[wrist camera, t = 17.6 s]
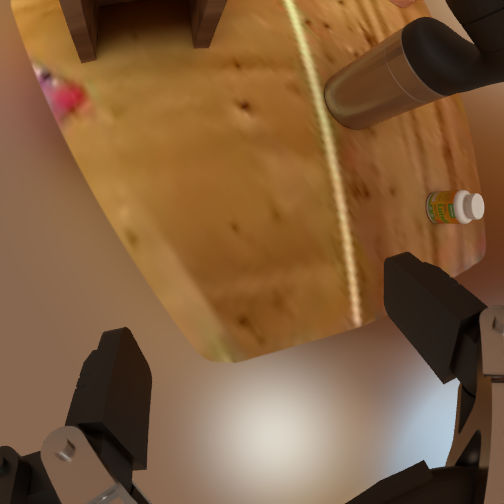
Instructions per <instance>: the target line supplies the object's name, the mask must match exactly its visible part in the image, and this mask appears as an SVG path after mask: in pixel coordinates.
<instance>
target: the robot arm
mask: <svg viewBox="0 0 504 504" xmlns="http://www.w3.org/2000/svg"><path fill="white" fill-rule="evenodd" d="M446 3H447V5H448V7H449V8H450V10H451V11H452V13H453V14H454V16H455V17H456V19H457V20H458V21H459V23H460V24H462V27H463V28H464V30H465V31H466V32H467V34H468V35H469V37H470V38H471V39H472V41H473V42H474V44H472V43H471V42H469V41H467V40H465V39H464V38H462V37H461V36H460V35H458V34H457V33H456V32H454V31H453V30H452V29H450V28H449V27H448V26H446V25H445V24H444V23H442V22H440V21H438V20H436V19H434V18H430V17H421V18H418V19H416V20H414V21H412V22H411V23H409V24H408V25H406V26H405V27H403V28H401V29H400V30H398V31H397V32H395V33H394V34H392V35H391V36H389V37H388V38H386V39H385V40H383V41H382V42H381V43H379V44H378V45H376V46H375V47H373V48H372V49H370V50H369V51H367V52H366V53H365V54H363V55H362V56H360V57H359V58H357V59H356V60H355V61H353V62H352V63H350V64H349V65H348V66H346V67H345V68H343V69H342V70H341V71H339V72H338V73H337V74H335V75H334V76H333V77H331V78H330V79H329V80H328V82H327V84H326V86H325V100H326V104H327V106H328V108H329V110H330V112H331V113H332V115H333V116H334V117H335V118H336V119H337V120H338V121H339V122H340V123H341V124H343V125H344V126H346V127H348V128H352V129H364V128H366V127H369V126H371V125H374V124H376V123H379V122H381V121H384V120H386V119H389V118H391V117H394V116H397V115H399V114H402V113H404V112H407V111H409V110H412V109H415V108H417V107H420V106H423V105H425V104H428V103H431V102H433V101H436V100H439V99H441V98H444V97H447V96H450V95H453V94H456V93H461V92H466V91H470V90H473V89H476V88H479V87H483V86H487V85H491V84H495V83H499V82H504V0H446ZM384 305H385V309H386V312H387V314H388V316H389V317H390V319H392V321H393V322H394V323H395V325H396V326H397V327H398V328H399V329H400V331H401V332H402V333H403V334H404V335H405V337H406V338H407V339H408V340H409V341H410V343H411V344H412V345H413V346H414V348H415V349H416V350H417V351H418V353H419V354H420V355H421V356H422V357H423V359H424V360H425V361H426V362H427V364H428V365H429V366H430V367H431V369H432V370H433V371H434V373H435V374H436V375H437V376H438V378H439V379H440V380H441V382H442V383H443V384H445V383H447V382H449V381H451V380H453V379H455V378H458V380H459V381H460V384H459V387H458V398H457V410H456V420H455V429H454V437H453V442H452V446H451V449H450V452H449V455H448V458H447V461H446V465H445V467H438V468H432V469H429V468H428V466H427V464H426V463H425V461H424V460H423V461H421V462H419V463H417V464H415V465H413V466H411V467H409V468H407V469H405V470H403V471H401V472H399V473H396V474H394V475H392V476H389V477H387V478H385V479H383V480H380V481H379V482H377V483H376V484H374V485H373V486H372V487H370V488H369V489H367V490H366V491H364V492H363V493H361V494H360V495H358V496H357V497H355V498H353V499H352V500H350V501H349V502H347V503H345V504H504V306H502V305H495V306H491V307H487V306H486V305H485V304H484V303H482V302H481V301H480V300H479V299H478V298H477V297H475V296H474V295H473V294H472V293H471V292H469V291H468V290H467V289H466V288H464V287H463V286H462V285H461V284H458V282H457V281H456V280H455V279H453V278H452V277H451V278H450V275H448V274H447V273H446V272H444V271H443V270H442V269H441V268H439V267H437V266H434V265H432V264H429V263H426V262H421V261H420V260H419V259H418V258H416V257H415V256H414V255H412V254H411V253H410V252H404V253H401V254H398V255H395V256H392V257H388V258H386V259H385V262H384ZM76 386H77V389H75V392H74V395H73V398H72V402H71V405H70V409H69V412H68V416H67V419H66V423H65V426H64V427H60V428H58V429H56V430H54V431H53V432H51V433H50V434H49V435H48V436H47V438H46V439H45V440H44V442H43V445H42V447H41V451H38V452H35V453H32V454H29V455H26V456H20V455H19V454H18V453H17V452H16V451H15V450H14V449H13V448H11V447H9V446H1V447H0V504H152V503H151V501H150V500H149V499H148V498H147V497H146V496H145V494H144V493H143V492H142V491H141V490H140V489H139V487H138V486H137V485H136V484H135V483H134V482H133V481H132V471H133V470H146V468H147V445H148V429H149V413H150V400H151V389H152V376H151V371H150V368H149V365H148V363H147V361H146V359H145V357H144V355H143V354H142V352H141V350H140V348H139V346H138V344H137V342H136V340H135V339H134V337H133V335H132V333H131V331H130V330H129V329H128V328H127V327H124V328H119V329H114V330H110V331H105V332H103V334H102V336H101V339H100V343H99V346H98V349H97V350H93V351H92V352H91V354H90V355H89V356H88V358H87V359H86V360H85V362H84V363H83V366H82V370H81V373H80V378H79V379H78V382H77V385H76Z"/></svg>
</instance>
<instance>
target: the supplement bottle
mask: <svg viewBox="0 0 504 504" xmlns="http://www.w3.org/2000/svg"><path fill="white" fill-rule="evenodd" d="M426 210H427V214H428V217H429V218H430V220H431V221H432V222H434V223H447V224H467V223H469V222H470V221H471V220H472V219H480V218H481V217H482V216H483V213H484V202H483V199H482V197H481V196H480V195H479V194H477V193H476V194H470V193H469V192H468V191H465V190H456V191H444V192H434V193H432V194H430V196H429V197H428V199H427V204H426Z"/></svg>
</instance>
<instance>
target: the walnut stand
mask: <svg viewBox="0 0 504 504" xmlns="http://www.w3.org/2000/svg"><path fill="white" fill-rule="evenodd" d="M59 1H60V4H61V7H62V10H63V13H64V16H65V19H66V22H67V25H68V28H69V30H70V33H71V36H72V39H73V42H74V44H75V47H76V50H77V52H78V55H79V58H80V60H81V63H84V62H89V61H94V60H96V48H97V30H98V17H99V6H104V5H110V4H116V3H123V2H130V1H139V0H59ZM226 2H227V0H189V3H190V14H191V25H192V36H193V46H194V48H209V45H210V43H211V40H212V37H213V35H214V32H215V30H216V27H217V25H218V22H219V20H220V17H221V15H222V12H223V10H224V7H225V5H226Z"/></svg>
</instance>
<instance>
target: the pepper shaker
mask: <svg viewBox="0 0 504 504" xmlns="http://www.w3.org/2000/svg"><path fill="white" fill-rule="evenodd" d="M390 1H391V2H392V3H394V4H395V5H397V6H399V7H403V8H404V7H407V6H408V5H410V4H411V3H413V2H414V1H416V0H390Z"/></svg>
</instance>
